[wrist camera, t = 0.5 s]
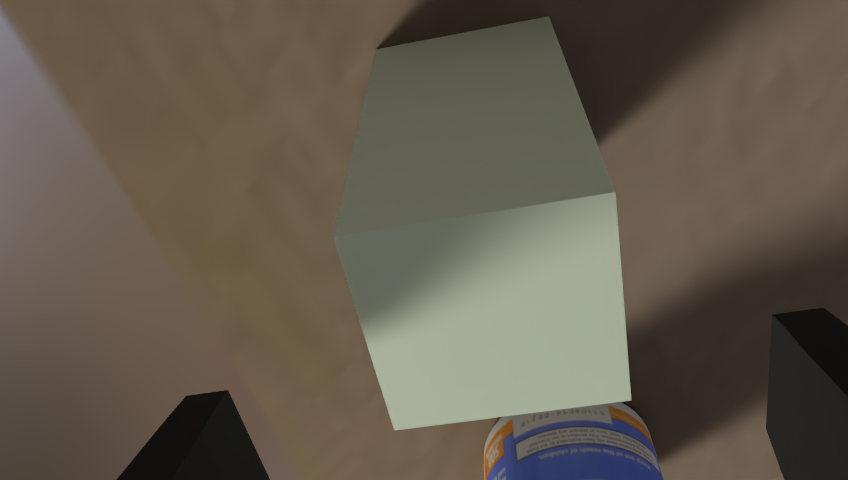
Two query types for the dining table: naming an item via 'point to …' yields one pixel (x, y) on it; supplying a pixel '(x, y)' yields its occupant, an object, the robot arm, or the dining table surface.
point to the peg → (483, 232)
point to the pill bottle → (572, 446)
